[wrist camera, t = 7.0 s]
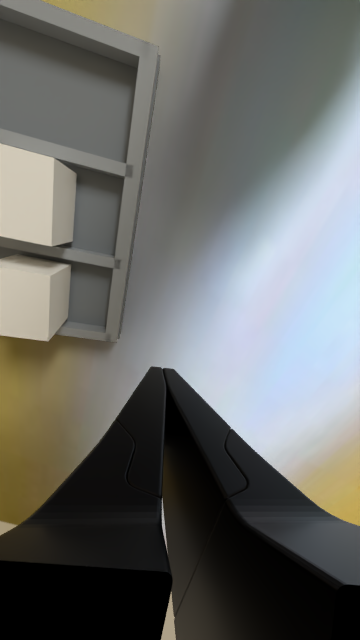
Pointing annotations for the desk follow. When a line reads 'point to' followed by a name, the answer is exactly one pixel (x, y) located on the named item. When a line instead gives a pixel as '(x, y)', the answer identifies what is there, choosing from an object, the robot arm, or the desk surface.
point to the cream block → (33, 296)
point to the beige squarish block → (36, 197)
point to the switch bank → (81, 143)
